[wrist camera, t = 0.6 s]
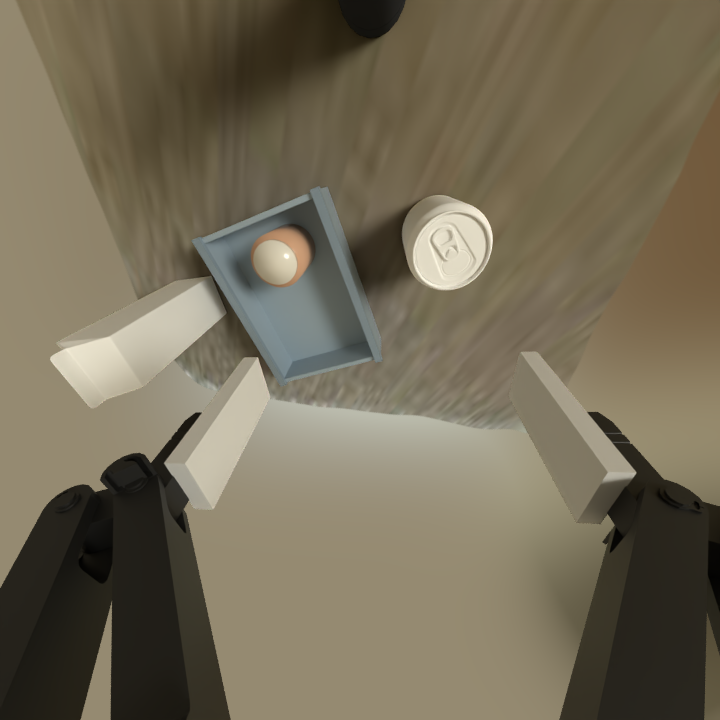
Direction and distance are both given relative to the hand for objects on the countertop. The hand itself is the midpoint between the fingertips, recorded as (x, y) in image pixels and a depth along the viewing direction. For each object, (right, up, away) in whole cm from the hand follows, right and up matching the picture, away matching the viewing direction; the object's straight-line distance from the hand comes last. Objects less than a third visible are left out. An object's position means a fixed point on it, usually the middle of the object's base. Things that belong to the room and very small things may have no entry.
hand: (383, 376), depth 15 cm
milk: (-25, +10, +30) cm, 40 cm away
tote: (-9, +11, +28) cm, 31 cm away
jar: (-10, +16, +24) cm, 30 cm away
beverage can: (+8, +17, +22) cm, 29 cm away
